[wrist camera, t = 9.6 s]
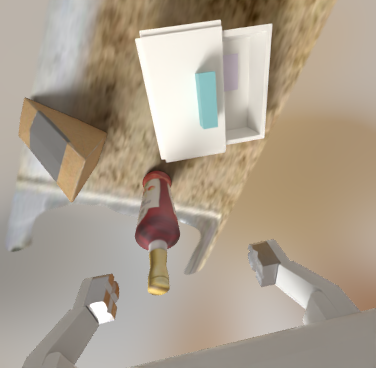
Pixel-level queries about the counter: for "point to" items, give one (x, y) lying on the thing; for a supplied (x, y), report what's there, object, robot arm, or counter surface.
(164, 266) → the liquor
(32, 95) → the counter surface
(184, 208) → the counter surface
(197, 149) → the lid
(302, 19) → the counter surface
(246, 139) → the box
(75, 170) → the sandwich container
